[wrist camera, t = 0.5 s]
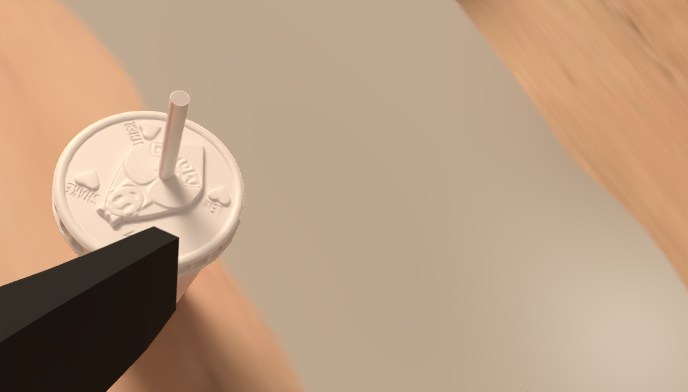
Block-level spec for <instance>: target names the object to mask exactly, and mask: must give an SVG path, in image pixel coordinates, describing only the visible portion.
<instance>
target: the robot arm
mask: <svg viewBox="0 0 688 392" xmlns="http://www.w3.org/2000/svg"><path fill="white" fill-rule="evenodd" d="M178 256H179V237H177V236H175V235H173V234H171V233H168V232H166V231H164V230H162V229H159V228H157V227H155V226H153V227H150V228H148V229H145V230H143V231H140V232H138V233H135V234H133V235H131V236H128V237H126V238H124V239H121V240H119V241H116V242H114V243H112V244H109V245H107V246H105V247H102V248H100V249H97V250H95V251H93V252H90V253H88V254H85V255H83V256H80V257H78V258H76V259H73V260H71V261H68V262H66V263H63V264H61V265H58V266H56V267H53V268H51V269H48V270H45V271H43V272H40V273H37V274H34V275H31V276H29V277H26V278H23V279H20V280H17V281H15V282H12V283H9V284H6V285H3V286H1V287H0V392H106V391H107V390H108V389H109V388H110V387H111V386H112V385H113V384H114V383H115V382H116V381H117V380H118V379H119V378H120V377H121V376H122V375H123V374H124V373H125V372H126V371H127V369H128V368H129V367H130V366H131V365H132V364H133V363H134V362H135V361H136V360H137V359H138V358H139V357H140V356H141V355H142V354H143V353H144V351H145V350H146V349H147V348H148V347H149V345H150V344H151V343H152V341H153V340H154V339H155V338H156V336H157V335H158V334H159V332H160V331H161V330H162V328H163V327H164V325H165V324H166V323H167V321H168V320H169V318H170V317H171V316H172V314H173V313H174V312H175V310H176V297H177V276H178Z"/></svg>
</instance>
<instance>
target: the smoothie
mask: <svg viewBox="0 0 688 392" xmlns="http://www.w3.org/2000/svg"><path fill="white" fill-rule="evenodd" d="M189 99H190V98H189V96H188V95H187V93H185V92H183V91H174V92H173V93H172V94H171V96H170V101H169V107H168V113H161V112H153V111H135V112H126V113H121V114H117V115H113V116H110V117H107V118H104V119H102V120H100V121H97V122H95V123H94V124H92V125H90V126H88V127H87V128H85V129H84V130H83V131H81V132H80V133H79V134H78V135H76V136H75V137H74V138H73V140H72V141H71V142H70V143H69V144H68V145H67V147H66V148H65V149H64V151H63V153H62V154H61V156H60V158H59V160H58V163H57V166H56V169H55V173H54V178H53V188H52V212H53V215H54V218H55V220H56V223H57V226H58V229H59V231H60V234H61V235H62V237H63V238H64V239H65V240H66V242H67V243H68V244H69V246H70V247H71V248H72V250H73V251H74V252H75V253H76V254H77V255H78V257H80V256H83V255H85V254H88V253H90V252H93V251H95V250H97V249H100V248H102V247H105V246H107V245H109V244H112V243H114V242H116V241H119V240H121V239H124V238H126V237H128V236H131V235H133V234H135V233H138V232H140V231H143V230H145V229H148V228H150V227H153V226H155V227H157V228H159V229H162V230H164V231H166V232H168V233H171V234H173V235H175V236H177V237H179V256H178V276H177V297H176V304H177V303H178V301H179V300H180V298H181V297H182V296H183V294H184V293H185V291H186V290H187V288H188V287H189V286H190V284H191V283H192V281H193V280H194V279H195V277H196V276H197V274H198V273H199V272H200V270H201V269H202V268H204V267H205V266H207V265H208V264H210V263H211V262H213V261H214V260H216V259H217V258H218V257H219V255H220V254H221V253H222V252H223V251H224V250H225V249H226V247H227V246H228V245H229V244H230V243H231V241H232V238H233V236H234V234H235V232H236V230H237V228H238V225H239V222H240V216H241V213H242V209H243V204H244V185H243V179H242V176H241V172H240V170H239V167H238V165H237V163H236V161H235V159H234V158H233V156H232V154H231V153H230V152H229V150H228V149H227V148H226V147H225V145H224V144H223V143H222V142H221V141H220V140H219V139H218V138H217V137H215V136H214V135H213V134H212V133H210V132H209V131H208V130H206V129H205V128H203V127H201V126H199V125H198V124H196V123H194V122H192V121H190V120H187V119H186V114H187V110H188V105H189Z"/></svg>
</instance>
